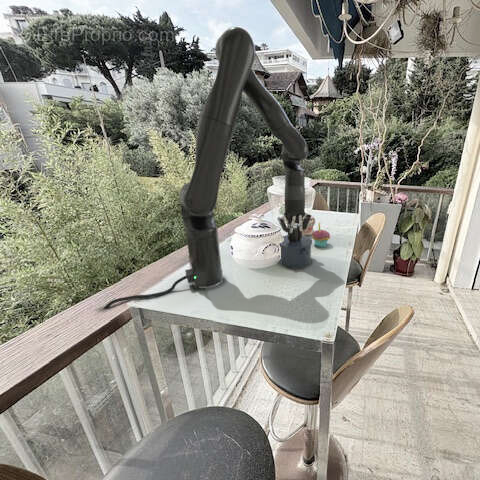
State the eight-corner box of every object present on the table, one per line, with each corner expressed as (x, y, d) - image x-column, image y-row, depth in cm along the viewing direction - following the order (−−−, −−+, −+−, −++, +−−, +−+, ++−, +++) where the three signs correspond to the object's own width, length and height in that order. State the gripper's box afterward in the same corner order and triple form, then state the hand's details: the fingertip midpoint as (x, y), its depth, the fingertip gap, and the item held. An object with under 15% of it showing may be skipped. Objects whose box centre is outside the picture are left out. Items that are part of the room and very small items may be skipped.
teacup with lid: (304, 237, 133) (304, 214, 129) (292, 232, 139) (292, 211, 135) (320, 232, 141) (321, 210, 137) (308, 227, 147) (309, 207, 143)
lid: (287, 253, 95) (286, 236, 93) (271, 240, 106) (271, 226, 104) (318, 246, 102) (319, 231, 100) (301, 235, 113) (301, 221, 111)
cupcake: (323, 249, 119) (324, 224, 115) (307, 245, 123) (308, 220, 119) (332, 244, 126) (334, 220, 122) (317, 240, 130) (318, 216, 126)
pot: (291, 274, 97) (290, 253, 94) (271, 256, 111) (270, 237, 108) (319, 267, 103) (320, 246, 100) (297, 250, 117) (297, 232, 114)
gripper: (306, 193, 104) (305, 234, 110) (273, 196, 97) (274, 240, 103) (316, 197, 98) (314, 240, 104) (281, 200, 91) (282, 247, 97)
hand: (294, 240), depth 104 cm, fingers closed on lid, 2 cm apart
